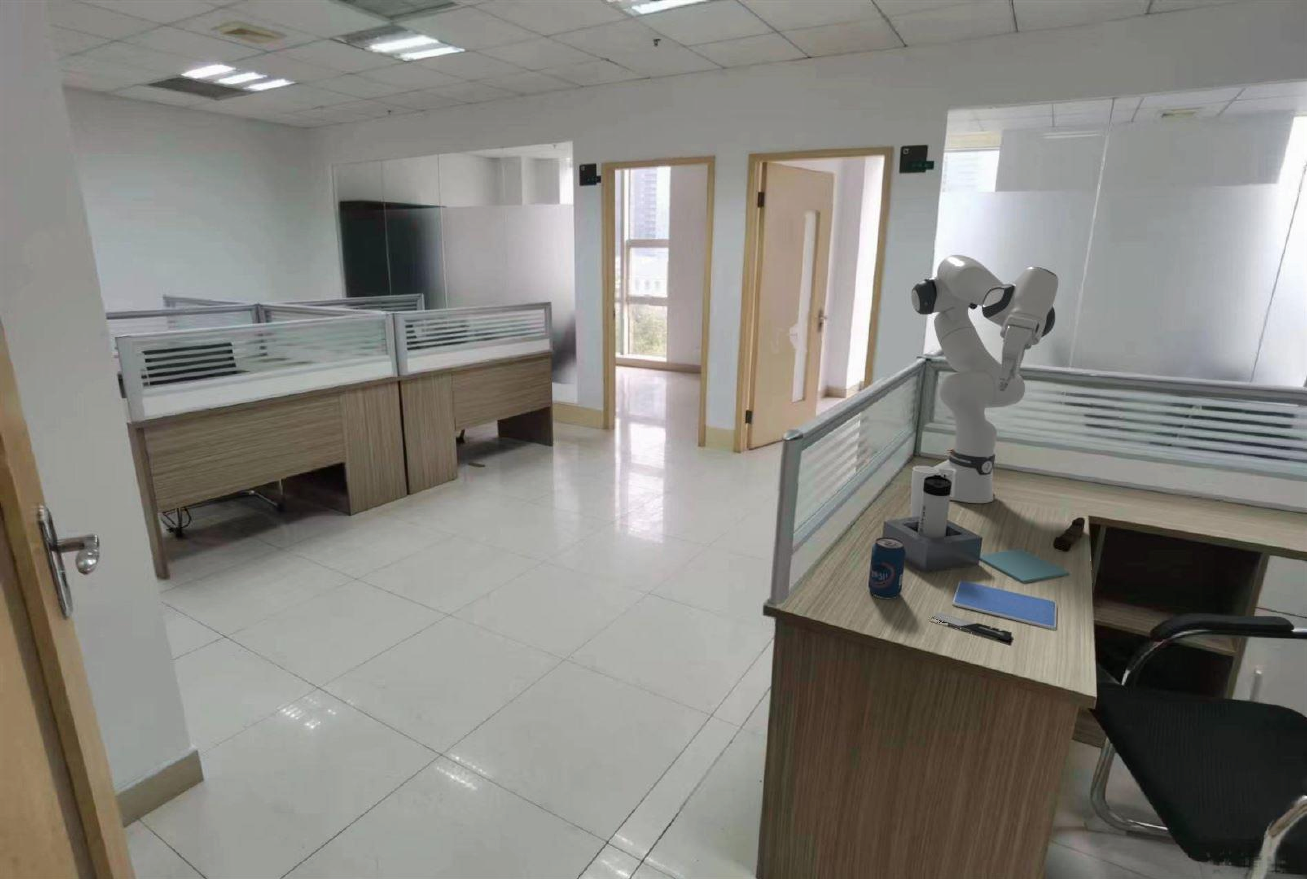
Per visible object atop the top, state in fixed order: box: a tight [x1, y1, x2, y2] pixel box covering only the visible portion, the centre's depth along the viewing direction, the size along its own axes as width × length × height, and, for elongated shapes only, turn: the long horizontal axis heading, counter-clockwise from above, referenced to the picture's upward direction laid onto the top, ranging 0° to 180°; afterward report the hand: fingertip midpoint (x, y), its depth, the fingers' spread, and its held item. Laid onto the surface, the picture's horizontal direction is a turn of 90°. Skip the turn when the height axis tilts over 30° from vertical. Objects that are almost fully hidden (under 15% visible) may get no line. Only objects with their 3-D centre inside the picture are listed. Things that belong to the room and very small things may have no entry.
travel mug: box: [918, 475, 952, 539], centre depth 166 cm, size 6×7×20 cm
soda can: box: [868, 537, 906, 599], centre depth 148 cm, size 7×7×12 cm
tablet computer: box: [952, 580, 1058, 631], centre depth 145 cm, size 19×13×1 cm, turn 60°
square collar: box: [881, 516, 983, 574], centre depth 168 cm, size 16×16×7 cm
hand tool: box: [1052, 517, 1086, 553], centre depth 178 cm, size 19×4×5 cm, turn 133°
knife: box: [930, 611, 1014, 646], centre depth 136 cm, size 15×1×4 cm
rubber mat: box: [979, 548, 1070, 584], centre depth 163 cm, size 14×14×1 cm
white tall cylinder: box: [909, 465, 939, 518], centre depth 190 cm, size 7×7×15 cm
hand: (1002, 384), depth 164 cm, fingers open, 8 cm apart
